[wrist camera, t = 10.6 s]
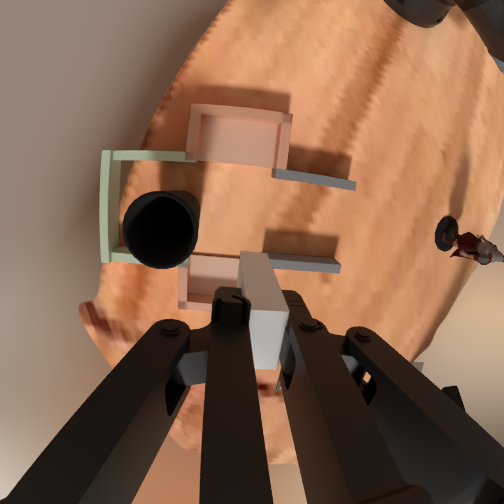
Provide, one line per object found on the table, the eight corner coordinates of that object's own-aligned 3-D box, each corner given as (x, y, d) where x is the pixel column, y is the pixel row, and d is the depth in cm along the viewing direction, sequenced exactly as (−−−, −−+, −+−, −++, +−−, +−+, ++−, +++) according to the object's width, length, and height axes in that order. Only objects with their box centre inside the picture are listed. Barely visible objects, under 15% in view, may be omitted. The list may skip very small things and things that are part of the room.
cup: (145, 223, 36) (112, 248, 25) (167, 173, 35) (139, 178, 23) (193, 247, 38) (178, 282, 27) (217, 198, 36) (211, 213, 25)
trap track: (353, 131, 35) (366, 129, 31) (322, 307, 43) (330, 320, 39) (119, 108, 31) (108, 103, 27) (114, 290, 39) (105, 302, 35)
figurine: (454, 210, 39) (514, 231, 25) (460, 244, 42) (514, 271, 27) (431, 225, 40) (492, 252, 26) (438, 260, 42) (492, 293, 28)
